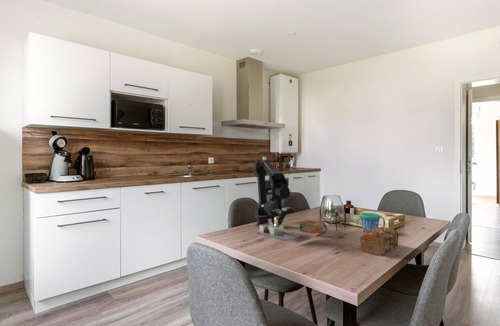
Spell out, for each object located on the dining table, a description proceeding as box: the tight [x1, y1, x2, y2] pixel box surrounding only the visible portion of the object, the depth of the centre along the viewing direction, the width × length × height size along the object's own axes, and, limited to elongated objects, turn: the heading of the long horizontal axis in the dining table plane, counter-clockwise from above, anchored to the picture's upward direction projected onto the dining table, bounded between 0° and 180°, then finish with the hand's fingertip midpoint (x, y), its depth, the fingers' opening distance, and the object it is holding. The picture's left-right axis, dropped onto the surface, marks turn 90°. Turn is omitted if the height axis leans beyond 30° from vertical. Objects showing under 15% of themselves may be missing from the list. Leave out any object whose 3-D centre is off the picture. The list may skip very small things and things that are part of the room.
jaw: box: [270, 216, 285, 235], centre depth 154 cm, size 3×8×9 cm, turn 134°
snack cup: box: [355, 212, 386, 233], centre depth 164 cm, size 16×10×10 cm
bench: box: [256, 222, 302, 242], centre depth 153 cm, size 20×14×6 cm
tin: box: [299, 219, 328, 238], centre depth 157 cm, size 15×3×8 cm, turn 62°
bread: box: [359, 226, 399, 256], centre depth 134 cm, size 19×11×10 cm, turn 131°
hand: (276, 224), depth 154 cm, fingers open, 4 cm apart
